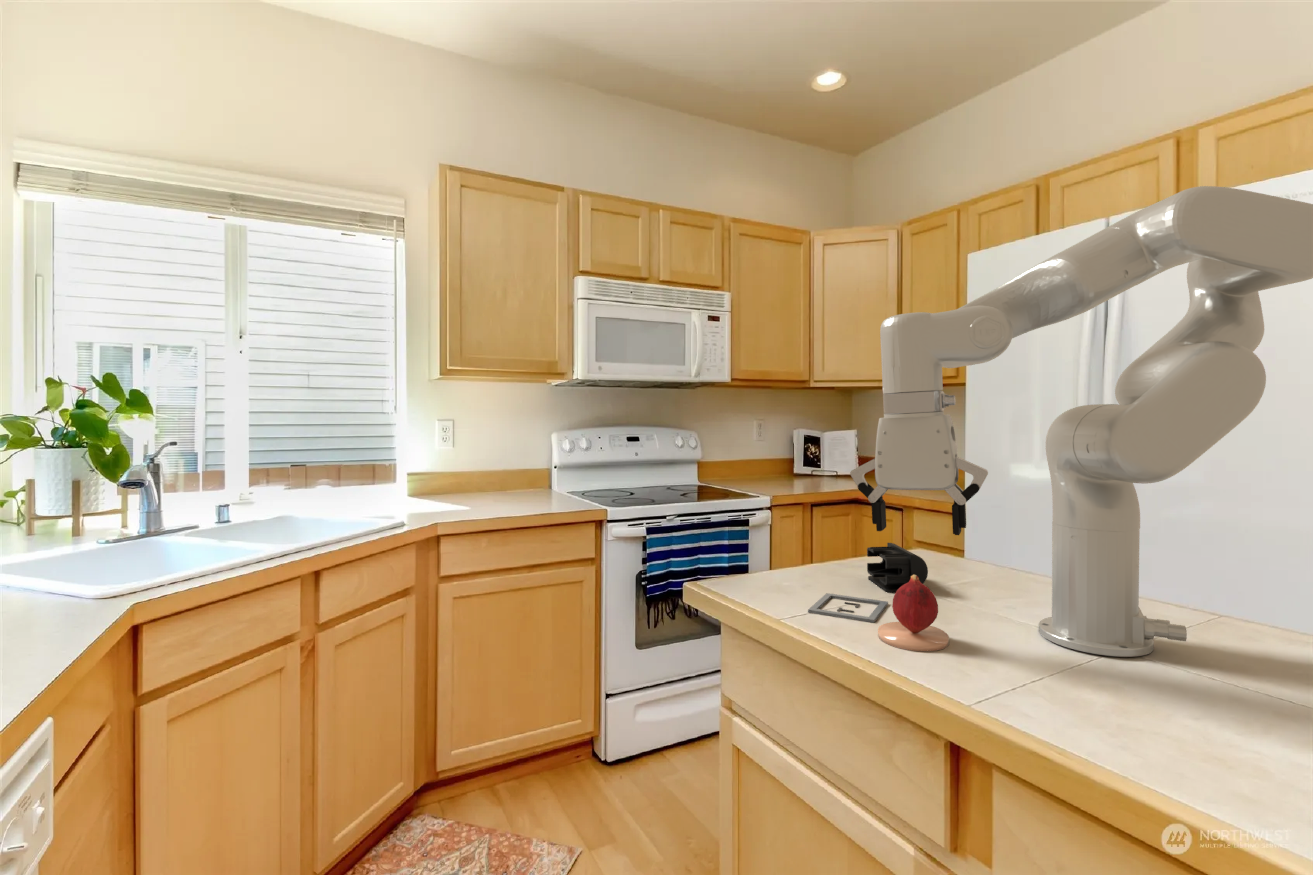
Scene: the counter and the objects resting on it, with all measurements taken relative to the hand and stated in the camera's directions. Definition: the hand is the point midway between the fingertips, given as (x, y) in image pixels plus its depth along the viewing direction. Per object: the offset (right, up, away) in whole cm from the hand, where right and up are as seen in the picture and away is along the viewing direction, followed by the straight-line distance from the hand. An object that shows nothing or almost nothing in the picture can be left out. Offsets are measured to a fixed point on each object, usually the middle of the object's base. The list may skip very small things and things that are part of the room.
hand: (918, 531), depth 84 cm
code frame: (-5, -14, +14) cm, 21 cm away
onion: (0, -14, +1) cm, 14 cm away
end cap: (+7, -14, +26) cm, 31 cm away
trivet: (0, -15, +1) cm, 15 cm away
